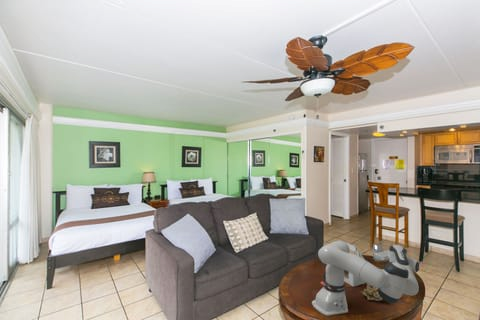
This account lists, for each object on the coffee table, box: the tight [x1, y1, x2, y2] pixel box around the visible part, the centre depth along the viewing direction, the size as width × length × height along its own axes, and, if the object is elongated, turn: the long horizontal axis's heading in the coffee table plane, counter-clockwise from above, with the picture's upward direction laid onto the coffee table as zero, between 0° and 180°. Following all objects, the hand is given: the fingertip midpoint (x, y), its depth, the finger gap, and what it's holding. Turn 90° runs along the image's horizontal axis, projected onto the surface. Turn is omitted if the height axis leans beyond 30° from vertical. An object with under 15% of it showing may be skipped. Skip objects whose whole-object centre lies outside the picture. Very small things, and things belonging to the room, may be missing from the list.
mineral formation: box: [361, 284, 384, 302], centre depth 147 cm, size 8×13×15 cm
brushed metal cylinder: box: [372, 243, 383, 263], centre depth 176 cm, size 6×6×12 cm
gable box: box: [338, 239, 366, 288], centre depth 174 cm, size 22×13×28 cm, turn 22°
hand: (376, 251), depth 177 cm, fingers closed on brushed metal cylinder, 6 cm apart
